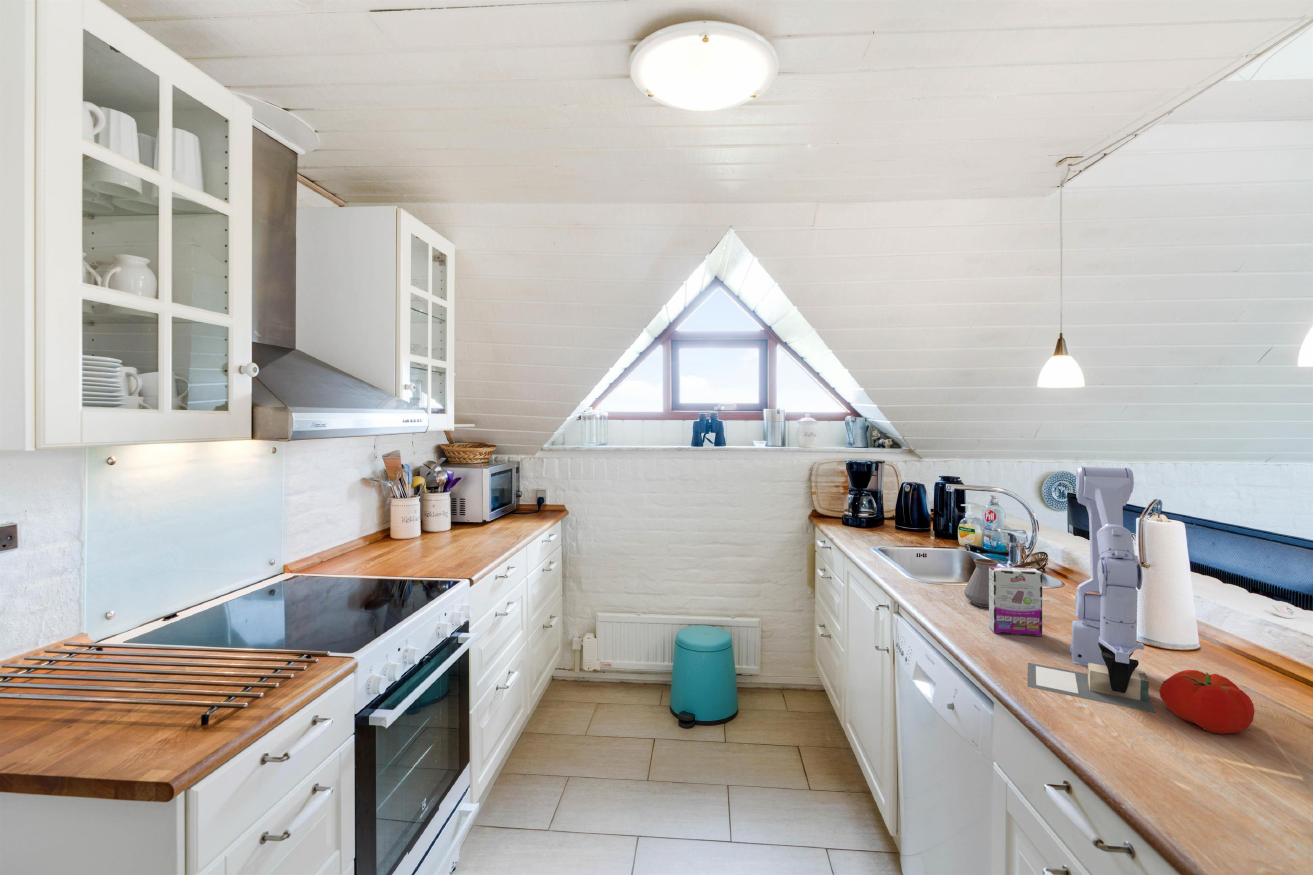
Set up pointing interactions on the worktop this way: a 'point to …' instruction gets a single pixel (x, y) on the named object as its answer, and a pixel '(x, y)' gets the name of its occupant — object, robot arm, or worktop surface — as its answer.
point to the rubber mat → (1077, 686)
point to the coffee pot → (985, 580)
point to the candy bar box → (1015, 601)
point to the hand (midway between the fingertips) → (1116, 686)
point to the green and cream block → (1101, 683)
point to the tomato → (1208, 701)
